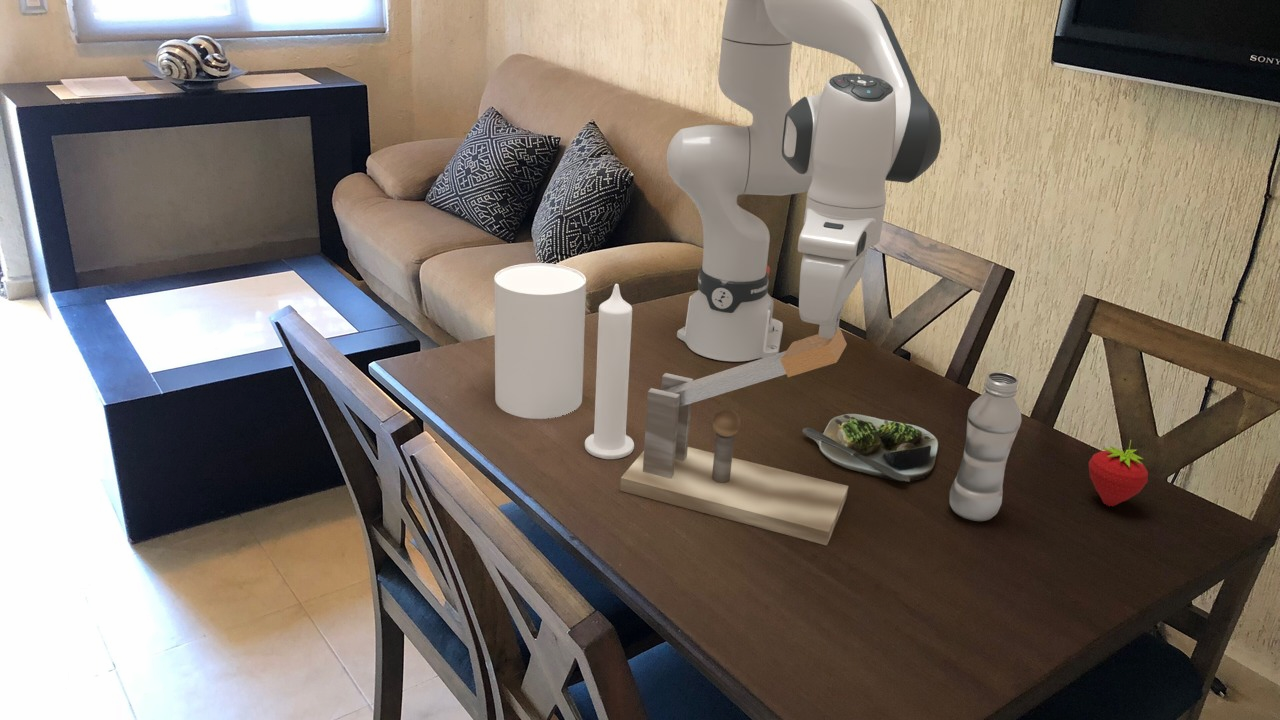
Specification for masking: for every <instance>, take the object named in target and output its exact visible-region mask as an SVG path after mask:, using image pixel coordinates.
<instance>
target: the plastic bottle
mask: <svg viewBox="0 0 1280 720" xmlns="http://www.w3.org/2000/svg"><path fill="white" fill-rule="evenodd" d="M1018 381H1019V380H1018V378H1017V377H1016V376H1015V375H1012V374H1010V373H1006V372H1001V371H994V372H991V373H988V374H987V377H986V381H985V384H984V386H983V389H984V390H983V391H985V392H984V393H982V394H981V395H980V396H978V397H977V399H975V400H974V401H973V402H972V403H971V405H970V407H969V409H968V410H967V411H968V412H967V413H968V414H967V420H966V438H965V443H964V450H963V455H962V456H963V457H962V459H961V462H960V466H959V467H958V471H957V474H956V477H955V479H954V481H953V482H952V485H951V487H950V489H949V505H950V507H951V510H952V511H953V512H954V513H955V515H957V516H959V517H961V518H963V519H965V520H969V521H973V522H985V521H989V520H991V519H992V518H993V517H995V516H996V515H997V514H998V512H999V511H1000V508H1001V506H1002V504H1003V494H1004V492H1003V488H1004V487H1003V484H1004V478H1005V470H1006V465H1007V462H1008V457H1009V454H1010V452H1011V448H1012V445H1013V443H1014V441H1015V438H1016V436H1017V434H1018V431H1019V429H1020V427H1021V425H1022V412H1021V410H1020V408H1019V405H1018V404H1017V402H1016V400H1015V398H1014V397H1016V395H1017V391H1018V390H1017V389H1018V385H1019V383H1018Z"/></svg>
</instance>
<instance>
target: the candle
mask: <svg viewBox="0 0 1280 720" xmlns="http://www.w3.org/2000/svg"><path fill="white" fill-rule="evenodd" d="M632 320H633V307H632V305H631V304H630V303H628V302H627V301H626V300H625V299H623V297H622V295H621V290H620V286H619V283H615V284H614V286H613V289H612V293H611V296H610V297H609V298H608V299H607V300H605V301H603V302H601V303H600V304H599V306H598V324H597V325H598V326H597V346H596V347H597V349H596V350H597V351H596V353H597V354H596V374H595V379H596V380H595V401H594V431H593V432H594V433H591V434H590V435H588V437H586V438H585V441H584V448H585V451H586V452H587V453H588V454H590V455H591V456H593V457H595V458H600V459H604V460H618V459H622V458H625V457H629V455H631V453H632V452H633V451H634V449H635V443H634V440H633V439H632V438H631V437H630V436H629V435H627V434H626V433H627V419H628V418H627V414H628V400H629V399H628V397H629V378H630V359H631V358H630V356H631V343H632V342H631V339H632V325H633V323H632V322H633V321H632Z"/></svg>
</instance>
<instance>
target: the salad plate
mask: <svg viewBox="0 0 1280 720" xmlns="http://www.w3.org/2000/svg"><path fill="white" fill-rule="evenodd" d="M802 433H803V434H804V435H805V436H807V437H808V438H810V439H811V440H813V442H816V444H817V445H818V447H819V450H820V452H821V453H822V455H824V456H825V457H826V458H827V459H828V460H830V462H832V463H834V464H836V465H837V466H840V467H842V468H845V469H847V470H851V471H856V472H859V473H862V472H863V473H864V474H866V475H870V476H874V477H877V476H878V477H877V478H881V479H885V480H890V481H894V480H895V481H896V482H903V481H905V482H909V483H910V482H913V480H915V481H918V480H917V479H919V480H922V479H924V478H925V476H926V477H927V476H928V475H929V474H930V473H931V471H932V470H933V469H934V467H935V464H936V458H937V455H938V453H939V448H940V444H939V440H938V438H937V437H936V436H935V435H934V434H933V433H931V432H930V431H928V430H926V429H925V428H923V427H920V426H918V425H914V424H909V423H905V422H898V421H894V420H893V421H892V420H888V419H883V418H882V419H881V418H877V417H874V416H870V415H864V414H857V413H846V414H842V415H838V416H834V417H833V418H832V419H830V420H829V422H828V424H827V425H826V427H825V429H824V432H823V433H822V432H820V431H819V430H817V429H815V428H813V427H809V426H807V427H803V429H802ZM889 450H890V451H889ZM863 473H862V474H863ZM923 477H924V478H923ZM921 478H922V479H921ZM895 481H894V482H895Z"/></svg>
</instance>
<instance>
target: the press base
mask: <svg viewBox="0 0 1280 720" xmlns="http://www.w3.org/2000/svg"><path fill="white" fill-rule="evenodd" d="M693 380H694V378H691V377H685V376H682V375H676V374H672V373H667V372H665V373H664V374H663V375H662V376H661V387H660V388H661V389H657V388H653V387H651V388H650V389H649V390H648V391H647V398H646V414H645V416H646V417H645V429H644V443H643V451H642V452H641V453H640V455H638V457H637V458H636V459H635V461H633V463H632V464H631V465H630V466H629V467H628V468H627V470H626V471H625V472H624V473H623V475H622V476H621V477H620V484H619V485H620V487H619V489H620V491H621V492H624V493H628V494H631V495H634V496H639V497H642V498H643V497H644V498H646V499H650V500H655V501H657V502H662V503H665V504H669V505H672V506H673V505H674V506H677V507H680V508H685V509H688V510H692V511H696V512H698V513H703V514H706V515H710V516H714V517H717V518H721V519H726V520H729V521H733V522H736V523H740V524H744V525H749V526H751V527H752V526H753V527H756V528H759V529H763V530H766V531H769V532H770V531H771V532H775V533H779V534H782V535H787V536H789V537H793V538H796V539H801V540H804V541H808V542H812V543H816V544H820V545H822V546H823V545H824V546H828V545H829V541H830V539H831V537H832V535H833V532H834V530H835V527H836V524H837V522H838V520H839V518H840V515H841V513H842V510H843V508H844V505H845V503H846V500H847V497H848V492H849V485H845V484H842V483H837V482H834V481H830V480H825V479H821V478H817V477H813V476H809V475H804V474H801V473H797V472H792V471H788V470H785V469H780V468H776V467H774V466H773V467H772V466H768V465H764V464H760V463H756V462H751V461H747V460H744V459H739V458H735V457H733V452H734V442H735V434H737V433H738V431H739V430H740V427H741V418H740V416H739V415H738V413H737V412H735V411H734V410H733V409H730V408H729V409H728V408H725V409H721V410H718V412H716V413H715V414H714V416H713V419H712V427H713V430H714V431H715V432H716V433H715V441H714V442H715V444H714V451H713V452H712V451H711V452H710V451H706V450H703V449H699V448H695V447H690V446H689V445H688V444H689V436H690V435H689V433H690V422H691V413H692V412H691V411H692V403H691V404H687V405H684V406H681V407H679V400H680V394H675V393H671V392H666V391H662V390H665V389H668V388H672V387H675V386H678V385H681V384H684V383H687V382H690V381H693Z"/></svg>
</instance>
